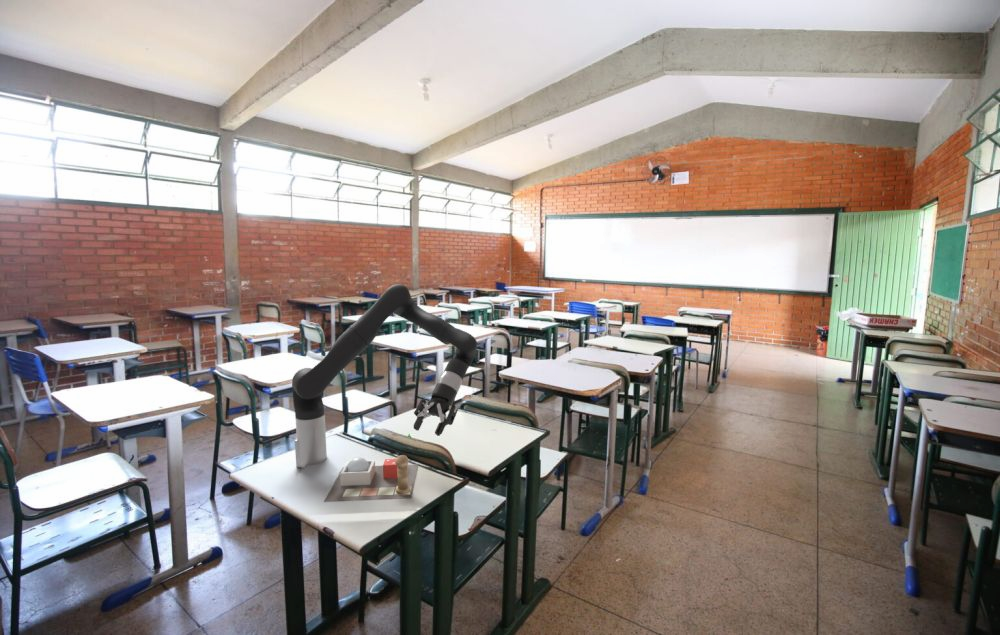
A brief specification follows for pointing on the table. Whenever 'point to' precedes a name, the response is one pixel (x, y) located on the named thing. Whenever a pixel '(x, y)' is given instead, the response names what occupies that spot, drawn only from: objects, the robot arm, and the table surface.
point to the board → (372, 487)
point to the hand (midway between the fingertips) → (426, 432)
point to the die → (390, 468)
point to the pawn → (402, 475)
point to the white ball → (358, 465)
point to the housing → (357, 475)
